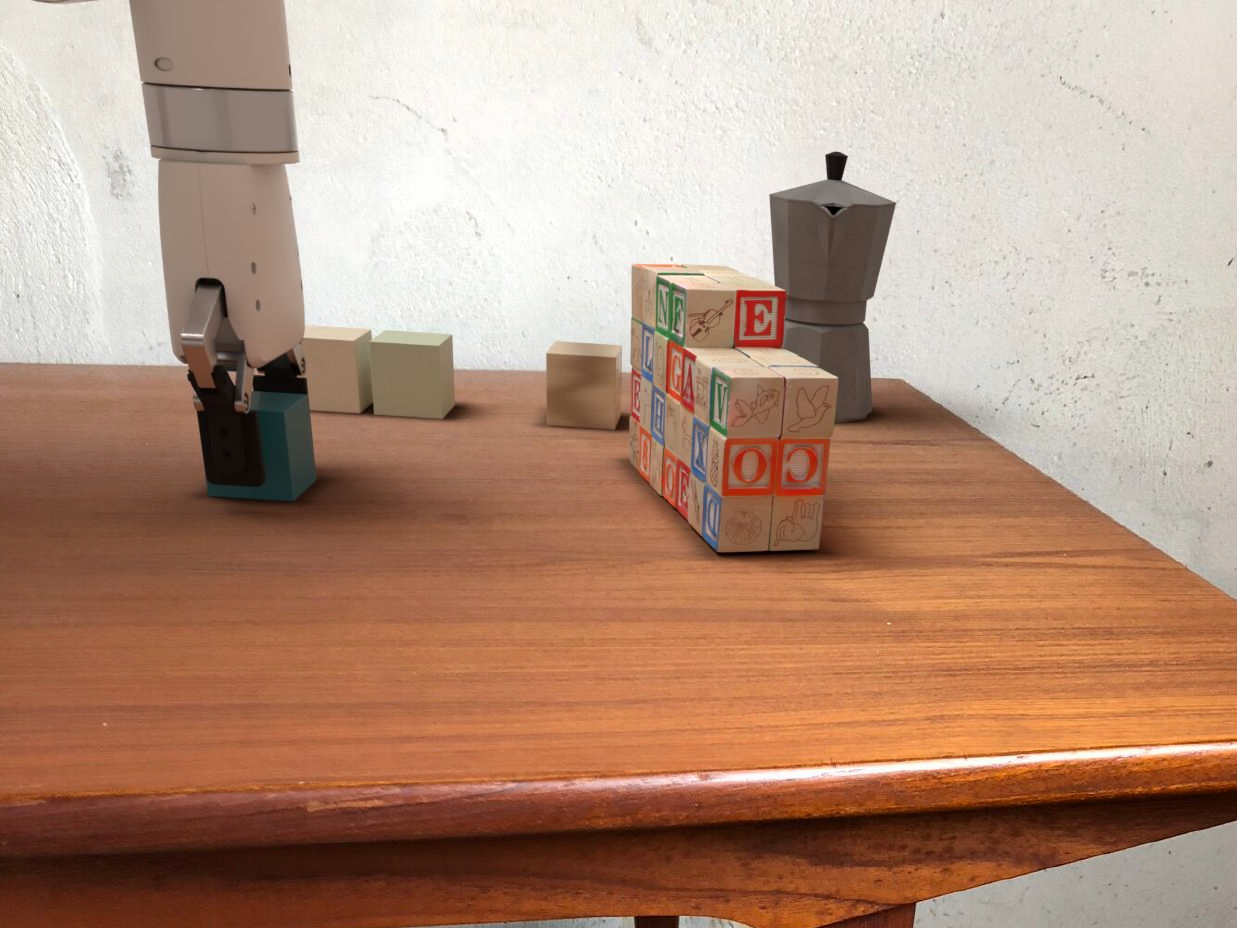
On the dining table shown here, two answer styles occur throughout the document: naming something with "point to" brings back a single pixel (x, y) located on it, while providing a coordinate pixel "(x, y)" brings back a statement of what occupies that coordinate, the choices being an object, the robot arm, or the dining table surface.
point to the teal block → (279, 449)
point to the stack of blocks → (727, 408)
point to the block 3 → (583, 385)
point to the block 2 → (412, 374)
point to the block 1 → (337, 368)
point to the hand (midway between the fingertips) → (262, 463)
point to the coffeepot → (831, 277)
